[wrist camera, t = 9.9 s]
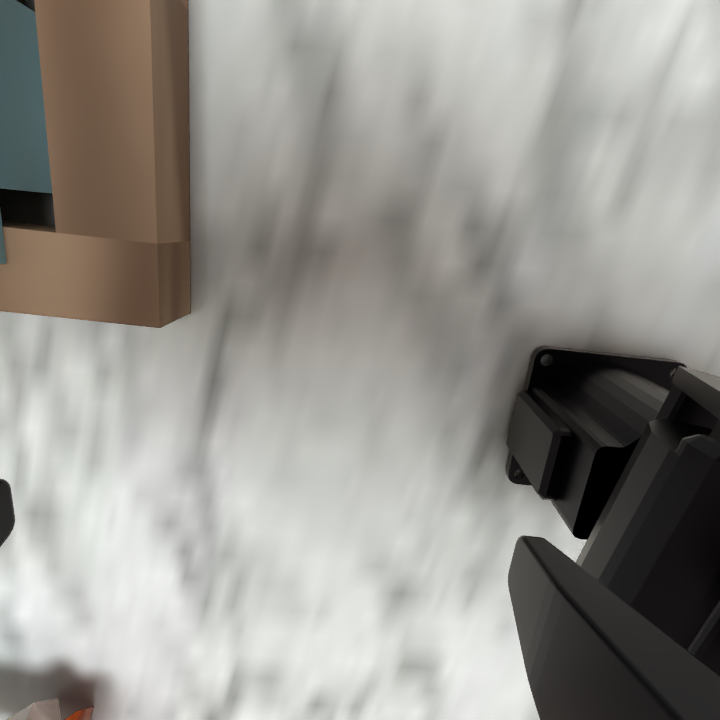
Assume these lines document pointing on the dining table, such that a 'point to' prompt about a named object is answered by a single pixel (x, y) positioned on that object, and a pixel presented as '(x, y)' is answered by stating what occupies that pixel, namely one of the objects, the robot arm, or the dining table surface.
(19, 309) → the brown square frame
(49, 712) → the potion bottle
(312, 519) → the dining table surface
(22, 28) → the block
